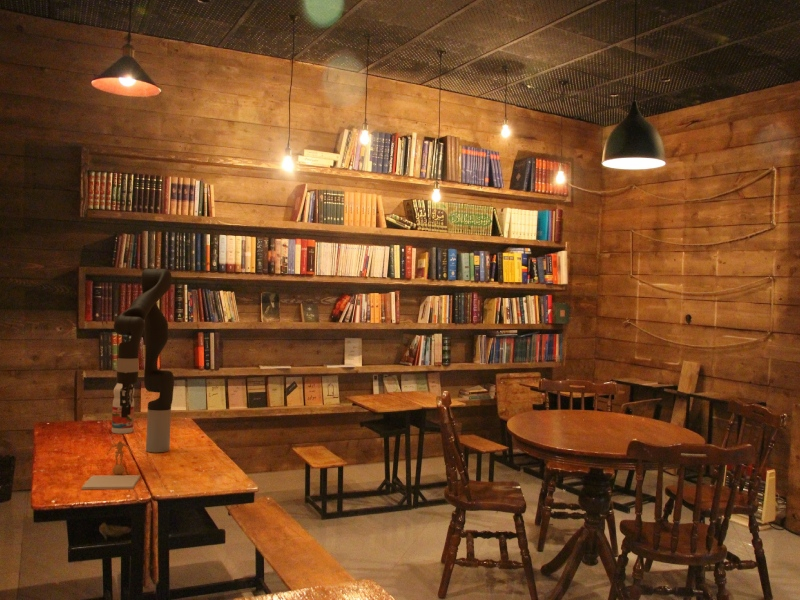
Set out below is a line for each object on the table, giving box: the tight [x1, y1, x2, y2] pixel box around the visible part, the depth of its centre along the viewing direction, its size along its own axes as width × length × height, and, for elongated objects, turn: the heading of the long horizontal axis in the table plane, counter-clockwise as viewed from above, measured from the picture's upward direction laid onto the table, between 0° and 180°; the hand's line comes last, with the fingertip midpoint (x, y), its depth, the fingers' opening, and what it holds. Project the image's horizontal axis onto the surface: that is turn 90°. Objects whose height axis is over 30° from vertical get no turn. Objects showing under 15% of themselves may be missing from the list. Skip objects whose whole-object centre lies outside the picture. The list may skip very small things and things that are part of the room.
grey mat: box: [80, 474, 141, 491], centre depth 243 cm, size 15×16×1 cm
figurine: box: [106, 440, 133, 475], centre depth 254 cm, size 8×6×12 cm
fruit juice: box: [111, 382, 135, 435], centre depth 330 cm, size 9×9×28 cm
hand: (125, 415), depth 264 cm, fingers open, 5 cm apart
